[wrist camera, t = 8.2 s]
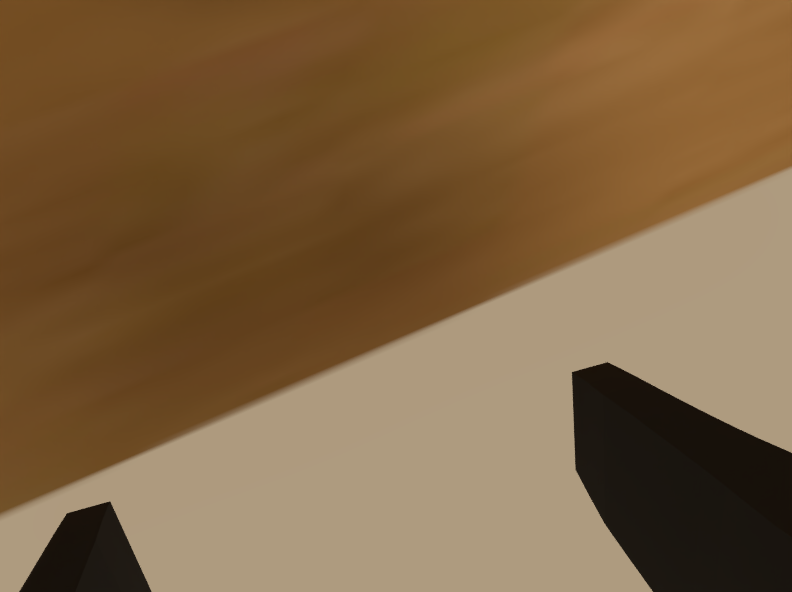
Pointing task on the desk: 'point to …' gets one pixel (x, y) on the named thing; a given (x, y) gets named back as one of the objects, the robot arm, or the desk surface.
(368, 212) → the desk surface
